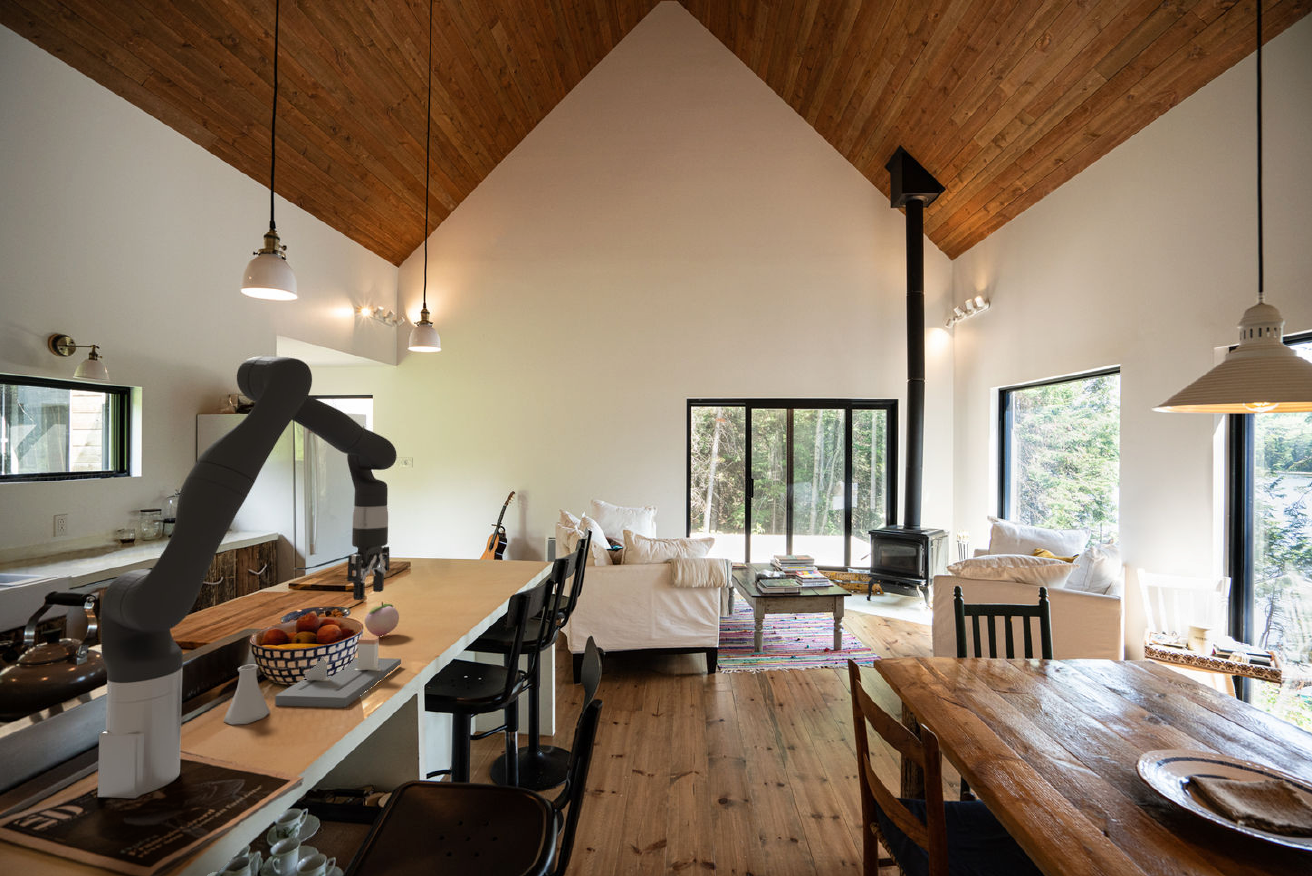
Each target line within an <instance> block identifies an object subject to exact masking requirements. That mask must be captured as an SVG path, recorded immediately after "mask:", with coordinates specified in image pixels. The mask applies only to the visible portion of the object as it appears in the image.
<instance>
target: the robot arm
mask: <svg viewBox="0 0 1312 876" xmlns="http://www.w3.org/2000/svg"><path fill="white" fill-rule="evenodd" d="M236 384H237V387H238V389H239V391H240V392H241V393H242V395H243V396H245V398H247V399H248V400H250V401H252V402H254V403H255V404H254V406H253V407H252V409H251V410H250V411H249V413H248V414H247V415H246V416H245V417H244V418H243V420H241V421H240V422H239V423H238V424H237V425H235V426H234V427H233V428H231V429H230V430H229V431H227V432H226V433H225V434H223V435H222V436H221V437H219V438H218V439H216V440H215V441H214V442H213V443H212V444H210V445H209V446H208V447H207V448H206V449H205V450H204V451H203V452H202V453H201V455H200V456H199V458H198V459H197V460H196V461H195V464H194V465H193V467H192V468H191V470H190V471H189V473H188V475H187V476H186V479H185V480H184V482H183V484H182V487H181V489H180V491H179V495H178V499H177V504H176V512H175V513H176V514H175V520H174V521H175V522H174V527H173V530H172V534H171V536H170V539H169V541H168V543H167V545H166V547H164V548H165V549H164V550H163V552H162V553H161V555H160V557H159V558H158V560H157V561H156V563H155V565H154V566H152V568H151V569H148V568H147V569H145V568H144V569H132V570H130V571H127V572H125V573H122V574H121V575H119V576H118V577H116V578H115V579H114V580H112V581H111V583H110V584H109V585H108V587H107V588H106V590H105V591H104V595H103V597H102V600H101V606H100V643H101V644H100V645H101V646H100V648H101V649H100V650H101V656H102V661H103V663H104V665H105V667H106V673H107V674H106V678H107V679H106V681H107V682H106V706H105V707H106V708H105V711H106V712H105V731H102V732H101V733H99V736H98V739H99V740H98V765H97V766H98V767H97V768H98V769H97V770H98V772H97V775H98V776H97V798H115V799H116V798H117V799H137V798H138V797H140V796H142V795H144V794H148V793H150V792H154V791H157V790H159V789H161V788H163V787H165V786H168V785H170V783H171V784H172V782H174V781H175V780H176V779H177V778H178V777H179V776H180V773H181V748H182V747H181V745H182V744H181V742H182V740H181V739H182V737H181V736H182V735H181V734H182V733H181V732H182V700H183V699H182V695H183V694H182V693H183V661H184V653H183V650H182V648H181V647H180V646H179V645H178V644H177V643H176V640H175V639H174V638H173V635H172V633H171V629H173V628H174V627H176V626H177V625H179V624H181V622H182V621H184V619H185V618H186V617H187V616H188V615H189V613H190V612H191V610H192V608H193V606H194V605H195V603H196V601H197V599H198V596H199V594H200V592H201V588H202V586H203V584H204V582H205V579H206V576H207V574H208V572H209V570H210V567H211V565H212V562H213V560H214V558H215V555H216V553H217V551H218V550H219V549H220V546H221V544H222V543H223V540H224V539H225V537H226V534H227V533H228V531H229V529H230V527H231V526H232V523H233V522H234V519H235V518H236V516H237V514H238V512H239V510H240V509H241V507H242V506H243V504H244V503H245V501H246V499H247V497H248V495H249V494H250V492H251V490H252V489H253V486H254V484H255V482H256V481H257V478H258V476H259V474H260V472H261V470H262V468H263V467H264V465H265V463H266V461H268V460H267V459H268V458H269V456H270V454H271V453H272V452H273V450H274V448H275V446H276V445H277V442H278V441H279V440H280V437H281V436H282V434H283V433H284V432H285V430H286V428H287V427H288V426H289V424H291V421H293V422H295V423H297V424H298V425H300V426H302V427H304V428H305V429H307V430H309V432H312V433H313V434H314V435H316V436H318V437H319V438H321V439H322V440H323V441H325V442H326V443H328V444H329V445H330V446H332V447H333V448H334V449H336V450H337V451H339V452H341V453H344V454H345V455H346V454H347V455H346V458H347V460H346V461H347V465H348V469H349V473H350V476H351V479H352V483H353V487H354V501H353V502H354V507H353V513H352V532H351V534H352V536H351V539H352V540H351V544H352V547H354V548H357V552H356V554H354V553H353V554H351V553H350V554H349V555H348V558H347V559H348V561H347V564H348V565H347V577H346V579H347V580H346V581H347V582H349V583H352V584H353V595H352V596H353V600H354V601H362V600H364V599H365V593H366V592H365V591H366V589H365V587H366V584H365V582H366V579H367V576H368V575H370V573H371V571H372V573H373V576H372V578H373V579H372V591H373V592H375V593H378V592H379V593H382V592H383V591H384V582H385V581H384V577H385V575H386V572H389V571H390V547H389V546H386V545H388V543H389V511H388V495H389V494H388V484H387V483H386V482H385V481H383V480H380V479H377V478H376V477H375V476H374V473H373V471H374V470H375V471H376V470H377V471H381V470H382V471H384V470H388V469H390V468H392V466H394V465H395V463H396V461H397V450H396V448H395V446H394V445H393V443H392V442H391V441H390V440H389V439H387V438H386V437H384V436H382V435H380V434H378V433H376V432H374V431H371V430H369V429H367V428H365V427H362V425H360V424H359V423H358V422H357V421H356V420H354V419H353V418H351V417H350V416H349V415H348V414H346V413H344V412H343V411H341V410H339V409H338V408H336V407H334V406H331V405H330V404H327V403H325V402H323V401H321V400H318V399H316V398H315V397H313V396H310V395H309V394H310V391H311V388H312V385H313V374H312V370H311V368H310V367H309V365H308V364H307V363H306V362H304V361H303V360H302V359H298V358H294V357H289V356H270V355H261V356H260V355H258V356H253V357H250V358H247V359H246V360H244V361H243V362H242V363H241V364H240V365H239V366H238V369H237V372H236Z"/></svg>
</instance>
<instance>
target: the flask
mask: <svg viewBox="0 0 1312 876" xmlns="http://www.w3.org/2000/svg"><path fill="white" fill-rule="evenodd" d="M258 669H259V665H258V664H255V663H252V664H251V663H250V664H244V665H241V666H240V667H238V668H237V672H239V678H238V683H237V688H236V690H235V693H234V695H233V697H232V700H231V702H230V705H229V707H228V710H227V711H226V714H225V715H224V718H223V722H225V723H227V724H230V725H248V724H250V723H253V722H255V721H259V720H262V719H264V718H265V717H266V716H267V715H269V714H270V713H271V711H270V708H269V706H268V703H267V702H266V700H265V698H264V695H263V693H262V690H261V688H260V686H259V682H258V677H257V670H258Z"/></svg>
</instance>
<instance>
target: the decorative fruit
mask: <svg viewBox="0 0 1312 876" xmlns="http://www.w3.org/2000/svg"><path fill="white" fill-rule="evenodd" d="M399 622H400V613H399V612H398V610H397V609H396V608H395V607H394V605H393V604H392V603H384V602H383V601H381V605H379V606H374V607H372V608H371V609H370V610H369V612H367V614H366V616H365V618H364V626H365V627H366V629H367V631H368V632H370V634H372V635H374V636H375V637H378V636H382V635H384V636H386V635H388V634H389V633H391V632H392V631H394V630H395V629H396V627H397V626H398V623H399ZM387 633H388V634H387Z"/></svg>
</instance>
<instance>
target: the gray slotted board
mask: <svg viewBox="0 0 1312 876" xmlns="http://www.w3.org/2000/svg"><path fill="white" fill-rule="evenodd" d="M353 658H354V659H353V661H351V663H350V664H349V665H348V666H347V667H346V668H345V669H344V670H342V671H339V672H338V673H336V674H335V675H333V676H330V677H327V678H325V679H323V680H302V679H301V680H300V681H298V682H297V683H295V684H293V685H291V686H289V687H288V688H286V689H284V690H283V691H281V692H278V693H277V694H275V695H274V696H275V697H274V706H280V707H281V706H284V707H285V706H286V707H314V708H315V707H316V708H317V707H318V708H343V707H345V708H347V707H348V706H350V705H351V704H352V703H354V702H355V701H356V700H358V699H359V698H360V697H359V696H360V695H362V694H363V693H364V692H365V691H367V690H369V689H370V688H371V687H373V686H374V685H375V684H376V683H377V682H378V681H380V680H382V679H383V678H384V677H385V676H386V675H387V674H388V673H390V672H391V671H393V670H394V669H395V668H396V667H397V666H398V665H400V664H401V665H402V659H401V658H386V657H385V658H381V657H378V668H376V669H375V670H363V669H357V657H353ZM374 687H375V686H374ZM374 687H373V688H374ZM370 690H371V689H370ZM370 690H369V691H370ZM367 692H368V691H367ZM363 695H364V694H363ZM363 695H362V696H363ZM358 697H359V698H358ZM357 698H358V699H357ZM354 700H355V701H354ZM353 701H354V702H353ZM351 702H352V703H351ZM350 703H351V704H350ZM349 704H350V705H349ZM346 706H347V707H346Z"/></svg>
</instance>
